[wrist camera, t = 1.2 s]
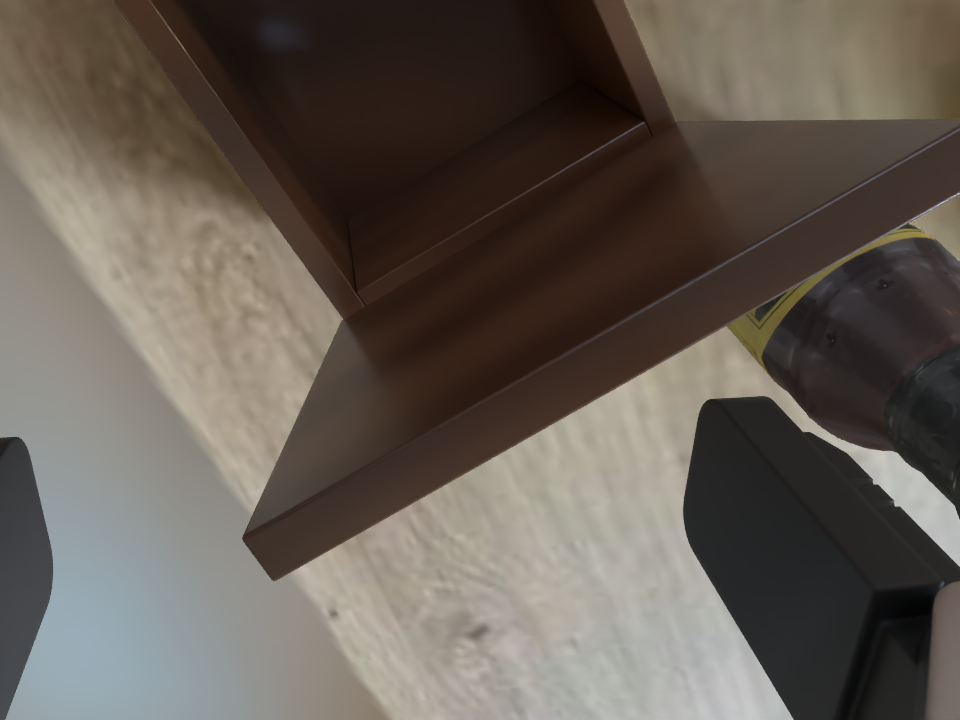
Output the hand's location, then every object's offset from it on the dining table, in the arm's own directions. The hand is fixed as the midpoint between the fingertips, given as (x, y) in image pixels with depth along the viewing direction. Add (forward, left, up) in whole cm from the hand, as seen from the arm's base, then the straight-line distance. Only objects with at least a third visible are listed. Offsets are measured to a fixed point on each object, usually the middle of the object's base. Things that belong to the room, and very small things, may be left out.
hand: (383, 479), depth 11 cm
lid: (+2, +3, -9) cm, 9 cm away
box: (-2, +3, -24) cm, 24 cm away
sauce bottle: (+12, +11, -24) cm, 29 cm away
